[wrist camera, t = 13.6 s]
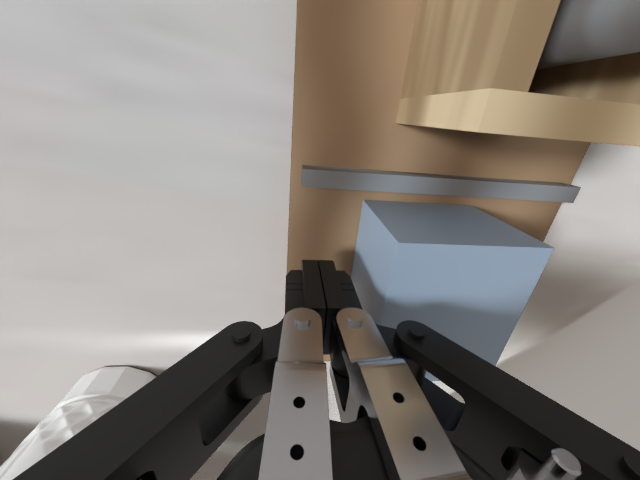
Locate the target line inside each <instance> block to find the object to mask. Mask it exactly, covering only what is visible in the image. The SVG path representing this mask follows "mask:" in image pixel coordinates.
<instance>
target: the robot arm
mask: <svg viewBox="0 0 640 480" xmlns="http://www.w3.org/2000/svg"><path fill="white" fill-rule="evenodd" d="M328 354H330V360H331V362H330V370H329V372H330V377H331V381H332V385H333V389H334V393H335V397H336V402H337V406H338V410H339V414H340V419H341V422H337V421H332V420H329V406H328V388H327V370H326V363H324V360H323V355H328ZM426 372H429V373H430V374H432V375H433V376H435V377H436V378H437V379H439V380H440V381H442V382H443V383H445V384H446V385H447V386H449V387H450V388H452V389H453V390H455V391H456V392H457V393H459V394H460V395H461V396H462V398H463V399H464V401H465V404H464V403H461V402H459V401H458V400H456V399H455V398H453V397H452V396H451V395H449V394H448V393H446V392H445V391H444V390H442V389H441V388H439V387H438V386H437V385H435V384H434V383H433V382H431V381H430V380H428V379H427V378H426V377H425V375H426ZM268 392H271V397H270V404H269V410H268V417H267V424H266V431H265V434H263V435H261V436H259V437H257V438H256V439H254V440H253V441H251V442H250V443H249V444H247V445H246V446H245V447H244V448H243V449H242V450H241V451H240V452H239V453H238V454H237V455H236V456H235V457H234V458H233V459H232V460H231V462H230V463H229V464H228V465H227V467H226V468H225V469H224V471H223V472H222V473H221V474H220V476H219V477H218V478H217V480H640V451H638V450H637V449H635V448H633V447H631V446H630V445H628V444H626V443H625V442H623V441H621V440H620V439H618V438H616V437H615V436H613V435H611V434H609V433H608V432H606V431H604V430H603V429H601V428H599V427H597V426H596V425H594V424H592V423H591V422H589V421H587V420H586V419H584V418H582V417H581V416H579V415H577V414H575V413H574V412H572V411H570V410H569V409H567V408H565V407H564V406H562V405H560V404H559V403H557V402H555V401H553V400H552V399H550V398H548V397H547V396H545V395H543V394H541V393H540V392H538V391H536V390H535V389H533V388H531V387H530V386H528V385H526V384H525V383H523V382H521V381H519V380H518V379H516V378H514V377H513V376H511V375H509V374H508V373H506V372H504V371H502V370H501V369H499V368H497V367H496V366H494V365H492V364H491V363H489V362H487V361H486V360H484V359H482V358H480V357H479V356H477V355H475V354H474V353H472V352H470V351H469V350H467V349H465V348H463V347H462V346H460V345H458V344H457V343H455V342H453V341H452V340H450V339H448V338H447V337H445V336H443V335H441V334H440V333H438V332H436V331H435V330H433V329H431V328H430V327H428V326H426V325H424V324H422V323H420V322H417V321H412V320H406V321H402V322H400V323H399V324H398V325H397V328H396V329H394V328H390V327H385V326H381V325H379V324H376V323H375V322H374V320H373V318H372V317H371V316H370V314H368V313H367V312H366V311H364V310H363V309H362V306H361V304H360V301H359V298H358V296H357V293H356V291H355V287H354V285H353V282H352V279H351V277H350V276H349V275H348V274H347V273H346V272H345V271H339V270H336V268H335V264H334V261H333V260H318V261H317V260H302V263H301V270H290V271H289V273H288V274H287V275H286V295H285V316H284V318H283V319H282V320H281V321H280V322H279V323H278V324H276V325H274V326H272V327H269V328H265V329H261V327H260V326H259V325H257V324H255V323H253V322H248V321H241V322H236V323H233V324H231V325H229V326H227V327H226V328H225V329H223V330H222V331H220V332H219V333H218V334H216V335H215V336H213V337H212V338H211V339H209V340H208V341H206V342H205V343H203V344H202V345H201V346H199V347H198V348H196V349H195V350H194V351H192V352H191V353H189V354H188V355H187V356H185V357H184V358H182V359H181V360H180V361H178V362H177V363H175V364H174V365H173V366H171V367H170V368H168V369H167V370H166V371H164V372H163V373H161V374H160V375H159V376H157V377H156V378H154V379H153V380H152V381H150V382H149V383H147V384H146V385H145V386H143V387H142V388H140V389H139V390H137V391H136V392H135V393H133V394H132V395H130V396H129V397H128V398H126V399H125V400H123V401H122V402H121V403H119V404H118V405H116V406H115V407H114V408H112V409H111V410H109V411H108V412H107V413H105V414H104V415H102V416H101V417H100V418H98V419H97V420H95V421H94V422H93V423H91V424H90V425H88V426H87V427H86V428H84V429H83V430H81V431H80V432H79V433H77V434H76V435H74V436H73V437H71V438H70V439H69V440H67V441H66V442H64V443H63V444H62V445H60V446H59V447H57V448H56V449H55V450H53V451H52V452H50V453H49V454H48V455H46V456H45V457H43V458H42V459H41V460H39V461H38V462H36V463H35V464H34V465H32V466H31V467H29V468H28V469H27V470H25V471H24V472H22V473H21V474H20V475H18V476H17V477H15V478H14V479H13V480H189V479H190V478H191V477H192V476H193V475H194V474H195V473H196V472H197V471H198V469H199V468H200V467H201V466H202V465H203V464H204V463H205V462H206V460H207V459H208V458H209V457H210V456H211V455H212V454H213V453H214V452H215V450H216V449H217V448H218V447H219V446H220V445H221V444H222V443H223V442H224V440H225V439H226V438H227V437H228V436H229V435H230V434H231V433H232V432H233V430H234V429H235V428H236V427H237V426H238V425H239V424H240V423H241V422H242V420H243V419H244V418H245V417H246V416H247V415H248V414H249V413H250V412H251V410H252V409H253V408H254V407H255V406H256V405H257V404H258V403H259V401H260V400H261V398H262V396H263V394H265V393H268Z"/></svg>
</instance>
